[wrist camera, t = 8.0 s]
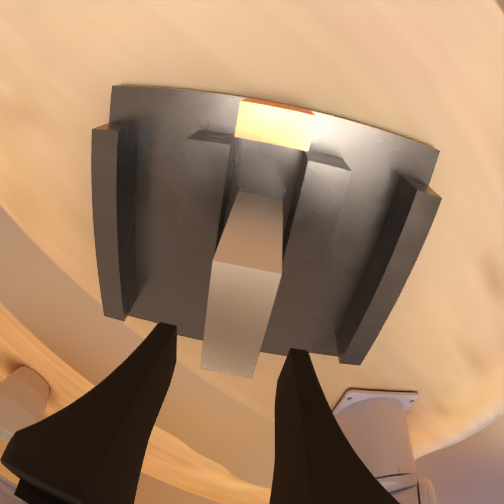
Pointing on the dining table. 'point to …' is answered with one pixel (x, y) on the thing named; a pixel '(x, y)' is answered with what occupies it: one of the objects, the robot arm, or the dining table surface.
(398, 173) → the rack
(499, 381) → the dining table surface
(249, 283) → the tall beige block
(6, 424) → the cup
